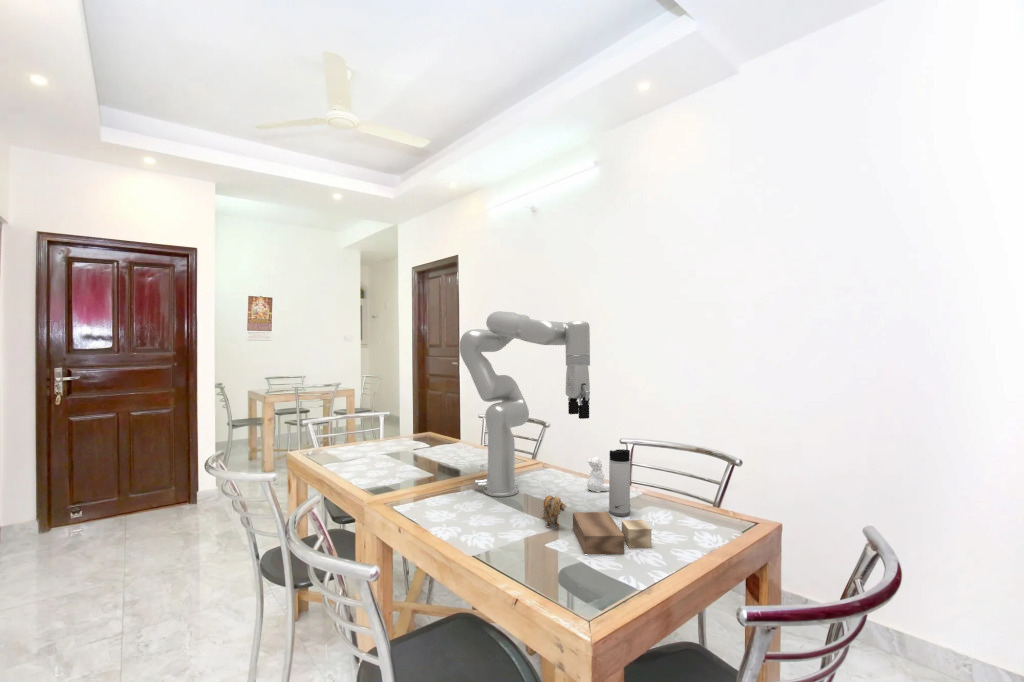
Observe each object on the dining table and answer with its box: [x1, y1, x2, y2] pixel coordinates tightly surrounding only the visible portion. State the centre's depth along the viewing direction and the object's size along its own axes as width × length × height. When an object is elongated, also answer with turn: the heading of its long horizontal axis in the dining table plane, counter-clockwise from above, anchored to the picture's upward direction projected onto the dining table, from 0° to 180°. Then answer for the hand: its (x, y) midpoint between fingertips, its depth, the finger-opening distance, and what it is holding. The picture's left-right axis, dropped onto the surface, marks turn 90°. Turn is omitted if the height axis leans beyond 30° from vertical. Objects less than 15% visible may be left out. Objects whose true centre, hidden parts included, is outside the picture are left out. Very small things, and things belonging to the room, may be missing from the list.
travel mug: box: [608, 449, 631, 518], centre depth 141 cm, size 6×7×20 cm
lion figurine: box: [541, 494, 567, 527], centre depth 135 cm, size 15×5×9 cm, turn 13°
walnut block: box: [572, 511, 625, 555], centre depth 122 cm, size 10×16×5 cm, turn 3°
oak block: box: [621, 519, 652, 549], centre depth 120 cm, size 6×6×5 cm
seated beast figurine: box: [586, 456, 609, 492], centre depth 164 cm, size 10×9×12 cm
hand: (578, 416), depth 141 cm, fingers open, 9 cm apart
